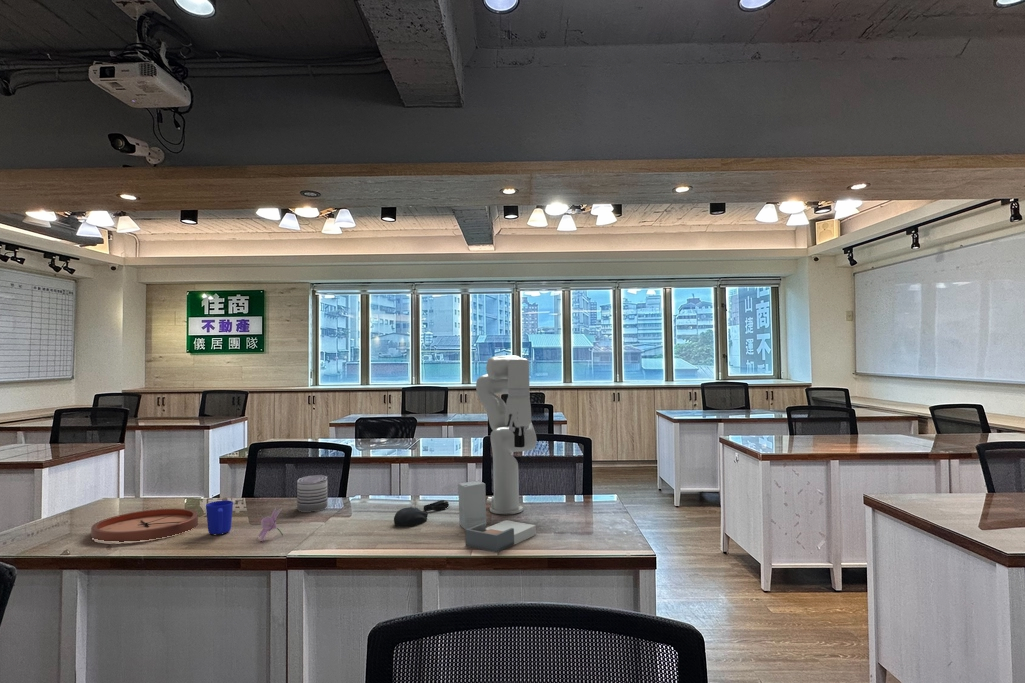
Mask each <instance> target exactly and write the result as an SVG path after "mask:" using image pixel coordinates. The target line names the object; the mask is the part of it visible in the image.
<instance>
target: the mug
mask: <svg viewBox="0 0 1025 683" xmlns="http://www.w3.org/2000/svg"><path fill="white" fill-rule="evenodd" d="M233 507H234V502H233V501H232V500H217V501H216V500H215V501H212V502H209V503H207V504H206V505H205V510H206V521H207V531H208V534H209V533H210V534H209V535H211V534H222V533H226V532H228V533H230V531H231V529H232V523H233V522H232V519H233V509H234V508H233ZM226 534H227V533H226ZM222 535H223V534H222Z"/></svg>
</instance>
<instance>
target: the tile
mask: <svg viewBox="0 0 1025 683" xmlns="http://www.w3.org/2000/svg"><path fill="white" fill-rule="evenodd" d="M484 532H486V533H491V534H498V533H501V532H503V531H499V530H493V529H489V530H487V531H484Z"/></svg>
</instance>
